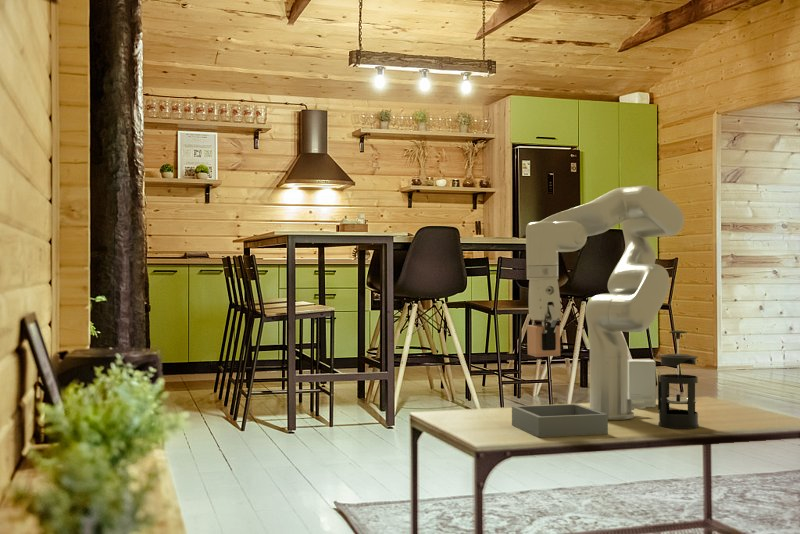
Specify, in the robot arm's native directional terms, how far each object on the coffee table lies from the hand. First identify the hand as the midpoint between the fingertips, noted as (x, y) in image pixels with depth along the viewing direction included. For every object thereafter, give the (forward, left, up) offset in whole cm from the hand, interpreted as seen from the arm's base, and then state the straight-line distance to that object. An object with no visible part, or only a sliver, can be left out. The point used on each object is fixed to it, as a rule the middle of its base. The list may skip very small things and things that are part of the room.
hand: (543, 348), depth 212 cm
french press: (-33, +4, -19) cm, 38 cm away
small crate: (0, 0, -2) cm, 2 cm away
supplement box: (-41, -28, -19) cm, 53 cm away
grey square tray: (-3, +2, -19) cm, 19 cm away
